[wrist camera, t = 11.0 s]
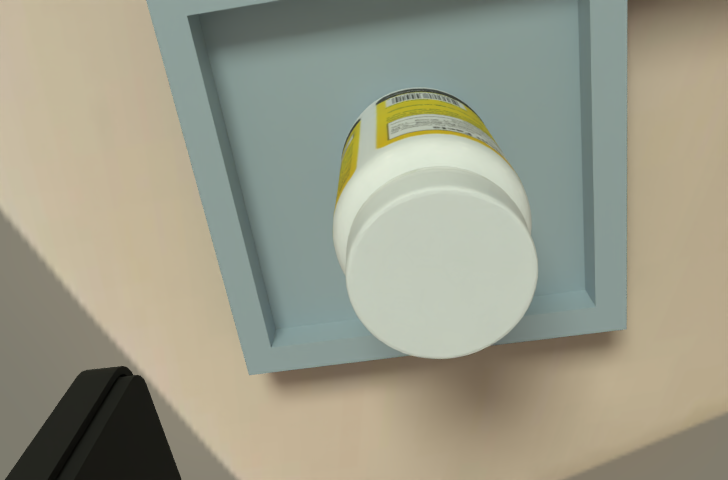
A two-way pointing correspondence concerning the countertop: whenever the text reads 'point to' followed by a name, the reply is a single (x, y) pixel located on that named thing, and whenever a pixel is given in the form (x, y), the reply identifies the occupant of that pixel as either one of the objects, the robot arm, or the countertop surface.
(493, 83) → the tray
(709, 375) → the countertop surface
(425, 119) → the supplement bottle
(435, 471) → the countertop surface
